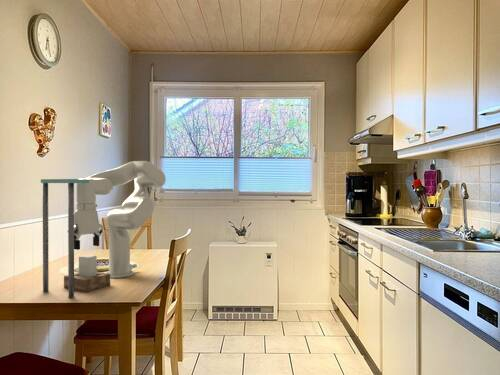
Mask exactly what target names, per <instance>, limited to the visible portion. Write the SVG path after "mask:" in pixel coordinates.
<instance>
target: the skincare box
mask: <svg viewBox="0 0 500 375" xmlns="http://www.w3.org/2000/svg"><path fill="white" fill-rule="evenodd" d="M97 263H98V262H97V255H90V254H89V255H88V254H87V255H86V254H84V255H80V256H78V273H79V277H85V278H89V277H93V276H97V272H98V271H97V269H98V268H97V267H98V266H97V265H98V264H97Z"/></svg>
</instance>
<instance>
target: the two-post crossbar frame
mask: <svg viewBox="0 0 500 375" xmlns="http://www.w3.org/2000/svg"><path fill="white" fill-rule="evenodd" d="M40 183H41V184H42V293H48V292H49V287H50V286H49V284H50V283H49V184H67V199H68V200H67V201H68V202H67V203H68V205H67V212H68V213H67V214H68V215H67V220H68V221H67V222H68V224H67V228H68V229H67V236H68V237H67V238H68V239H67V242H68V243H67V244H68V247H67V248H68V249H67V251H68V252H67V254H68V265H67V266H68V267H67V269H68V270H67V271H68V273H67V275H68V289H67V290H68V292H67V293H68V294H67V295H68V297H67V298H69V299H74V298H75V290H74V274H75V249H74V213H75V184H76V183H89V179H85V178H57V179H56V178H51V179H49V178H47V179H45V178H43V179H40Z"/></svg>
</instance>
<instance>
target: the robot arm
mask: <svg viewBox="0 0 500 375" xmlns="http://www.w3.org/2000/svg"><path fill="white" fill-rule="evenodd" d="M84 179H89V183H75V184H76V185H75V186H76V189H75V190H76V211H75V210H74V250H76V251H79V250H81V240H80V238H81V236H83V235H84V236H85V235H91V234H92V235H93V236H92V245H93V246H95V247H100V237H101V235H102V233H103V230H104V228H105V226H104V225H103V224H101V223H100V222H99V213H98V210H97V207H98V204H97V196H106V195H110V194H111V192H113V190H114V187H118V186H123V185H125V184H127V183H130V182H131V181H134V190H133V192H132V193H130V195H129V196H128V197H127V198H126V199H125V200H124V201H123V203H122V204H121V208H115V209H111V210H110V211H109V212H108V213H107V215H106V217H105V218H106V225H107V229H108V271H107V272H106V273H108V274H110V279H120V278H122V279H123V278H128V277H131V276H133V275H134V271H133V269H136V268H138V265H137V263H134V264H132V263H131V261H130V260H131V248H130V247H131V237H130V234H129V232H128V230H133V231H135V230H139V229H140V228H141V227H143V225H145V223H146V222H147V221H148V220H149V219H150V218H151V216H152V214H153V213H154V210H155V202H154V200H153V199H152V198H151V197H150V194H149V191H148V188H160V187H163V186H164V185H165V183H166V182H167V181H166V180H167V178H166V175H165V173H164V171H162V170H161V169H160V168H159V167H157V166H156V165H155V164H153V163H152V162H150V161H148V160H133V161H129V162H127V163H125V164H122V165H120V166H118V167H115V168H112V169H108V170H105V171H101V172H98V173H95V174H92V175H90V176H87V177H85V178H84Z"/></svg>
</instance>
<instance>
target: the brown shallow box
mask: <svg viewBox="0 0 500 375" xmlns="http://www.w3.org/2000/svg"><path fill="white" fill-rule="evenodd" d="M106 287H111V278H110V274H108V273H107V272H100V271H97V276H93V277H89V278H85V277H79V272H76V273H75V272H74V291H77V292H78V291H79V292H81V293H90V292H92V291H96V290H100V289H104V288H106ZM63 288H64V289H67V290H68V274H67V275H66V274H65V275H63Z"/></svg>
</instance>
